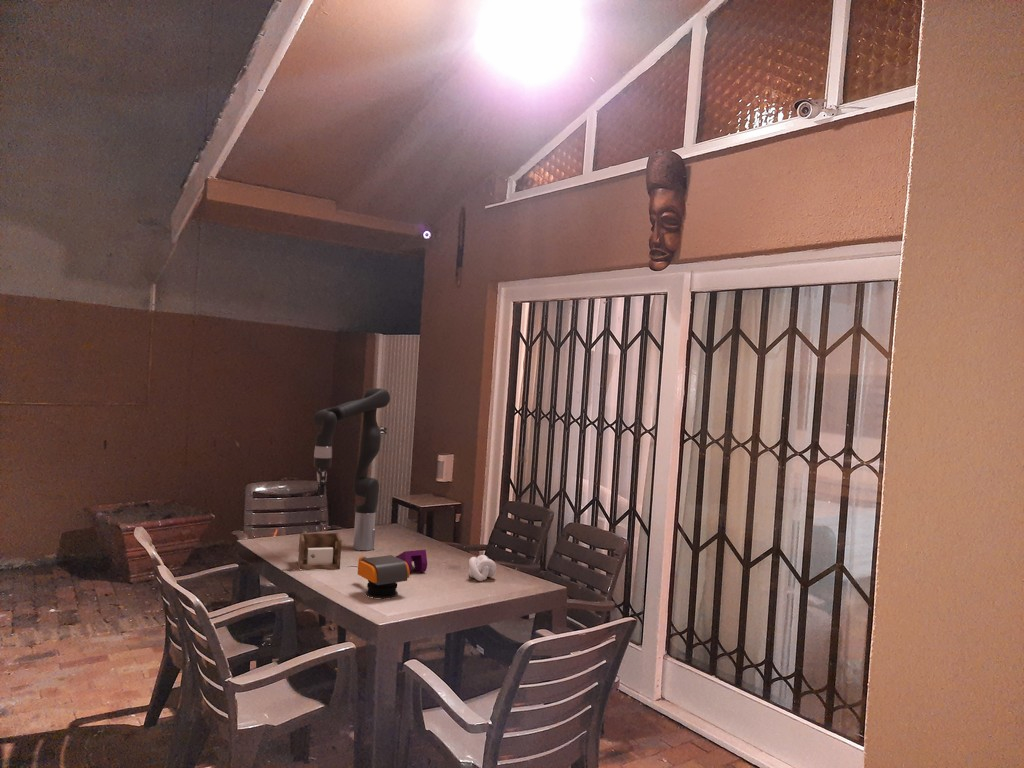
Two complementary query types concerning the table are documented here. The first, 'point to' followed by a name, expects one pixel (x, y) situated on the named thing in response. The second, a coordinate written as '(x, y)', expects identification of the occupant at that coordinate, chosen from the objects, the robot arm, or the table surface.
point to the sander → (383, 575)
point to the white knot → (481, 567)
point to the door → (320, 555)
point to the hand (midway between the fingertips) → (320, 493)
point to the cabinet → (319, 542)
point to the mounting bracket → (415, 559)
